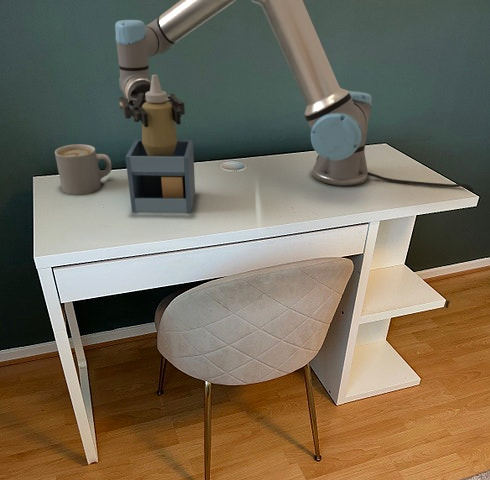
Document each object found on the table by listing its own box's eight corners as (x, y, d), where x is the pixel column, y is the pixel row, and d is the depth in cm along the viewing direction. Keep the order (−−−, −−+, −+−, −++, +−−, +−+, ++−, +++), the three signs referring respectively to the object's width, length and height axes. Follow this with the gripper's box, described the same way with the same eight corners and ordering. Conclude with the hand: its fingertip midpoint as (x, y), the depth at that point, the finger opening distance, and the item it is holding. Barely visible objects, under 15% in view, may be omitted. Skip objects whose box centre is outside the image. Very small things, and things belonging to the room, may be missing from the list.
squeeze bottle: (171, 164, 114) (166, 80, 104) (138, 161, 115) (129, 77, 105) (182, 152, 120) (178, 72, 110) (150, 150, 122) (143, 70, 112)
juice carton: (185, 198, 126) (184, 169, 122) (184, 206, 122) (182, 177, 118) (166, 198, 126) (163, 169, 122) (163, 206, 122) (161, 177, 118)
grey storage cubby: (195, 195, 130) (192, 140, 122) (191, 216, 120) (188, 157, 112) (141, 195, 130) (135, 139, 122) (132, 216, 120) (125, 156, 111)
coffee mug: (59, 195, 129) (52, 157, 123) (64, 181, 137) (57, 145, 131) (113, 192, 131) (108, 155, 125) (114, 178, 139) (109, 143, 134)
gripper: (181, 107, 131) (206, 132, 113) (105, 113, 125) (119, 140, 107) (179, 77, 127) (205, 98, 109) (101, 81, 121) (114, 104, 103)
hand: (162, 119), depth 108 cm, fingers closed on squeeze bottle, 6 cm apart
